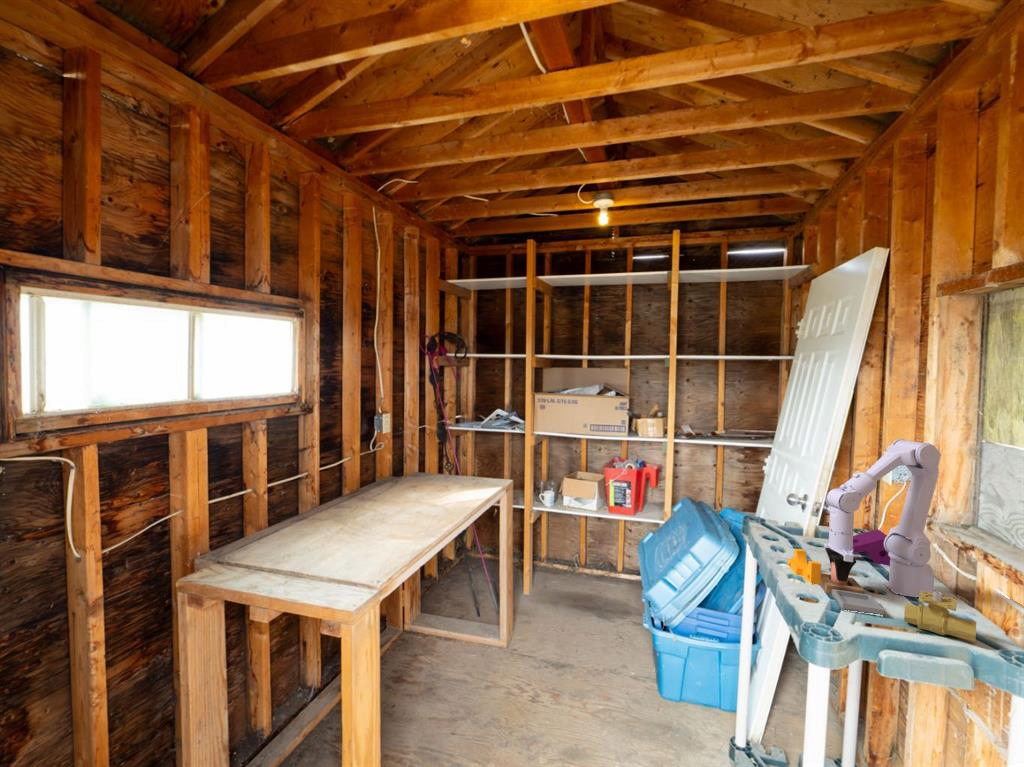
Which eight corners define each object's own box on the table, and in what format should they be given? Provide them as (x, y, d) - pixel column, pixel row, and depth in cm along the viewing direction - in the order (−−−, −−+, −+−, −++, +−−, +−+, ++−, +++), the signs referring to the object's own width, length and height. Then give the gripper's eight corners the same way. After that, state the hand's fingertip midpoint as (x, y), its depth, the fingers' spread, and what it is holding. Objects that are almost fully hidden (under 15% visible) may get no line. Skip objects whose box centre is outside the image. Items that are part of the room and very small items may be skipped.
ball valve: (903, 628, 114) (904, 588, 114) (906, 614, 121) (908, 576, 121) (975, 651, 105) (977, 607, 105) (974, 634, 112) (976, 593, 112)
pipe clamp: (787, 567, 150) (788, 548, 150) (802, 569, 149) (802, 549, 149) (804, 584, 138) (805, 562, 138) (820, 585, 137) (821, 564, 137)
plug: (844, 586, 135) (845, 563, 135) (849, 592, 132) (850, 568, 132) (828, 584, 137) (829, 561, 137) (832, 590, 133) (833, 566, 133)
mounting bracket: (843, 576, 158) (901, 561, 153) (831, 553, 160) (889, 537, 154) (834, 566, 167) (889, 551, 162) (823, 543, 168) (877, 528, 163)
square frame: (852, 586, 137) (853, 578, 137) (864, 599, 128) (864, 590, 128) (817, 580, 140) (817, 572, 140) (826, 593, 131) (826, 584, 131)
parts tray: (870, 602, 127) (870, 594, 127) (883, 617, 119) (884, 610, 119) (831, 595, 130) (832, 588, 130) (842, 610, 122) (842, 603, 122)
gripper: (817, 522, 142) (816, 565, 142) (832, 536, 129) (830, 585, 129) (845, 525, 140) (843, 569, 140) (863, 540, 126) (861, 589, 126)
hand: (839, 577), depth 134 cm, fingers closed on plug, 4 cm apart
